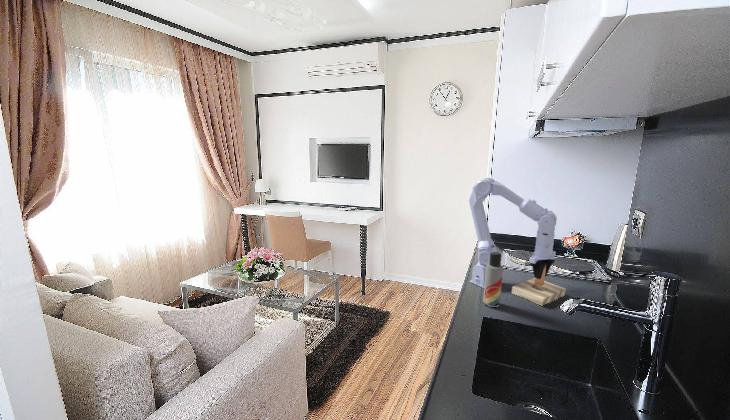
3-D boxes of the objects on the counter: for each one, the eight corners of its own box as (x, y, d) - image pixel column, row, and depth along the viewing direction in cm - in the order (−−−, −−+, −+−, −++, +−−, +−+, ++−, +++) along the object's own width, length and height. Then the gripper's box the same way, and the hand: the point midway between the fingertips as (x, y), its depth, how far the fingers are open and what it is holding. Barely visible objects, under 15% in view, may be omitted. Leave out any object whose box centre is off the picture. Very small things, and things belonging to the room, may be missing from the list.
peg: (540, 286, 119) (542, 266, 117) (532, 283, 122) (534, 263, 120) (545, 284, 121) (548, 265, 119) (537, 281, 123) (540, 262, 122)
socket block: (542, 306, 113) (543, 299, 112) (511, 293, 123) (512, 286, 122) (564, 295, 121) (565, 288, 121) (534, 284, 131) (535, 277, 131)
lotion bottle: (496, 310, 111) (501, 256, 107) (480, 304, 114) (484, 253, 110) (501, 304, 115) (506, 252, 111) (486, 299, 119) (490, 249, 115)
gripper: (544, 249, 111) (540, 285, 113) (565, 243, 118) (560, 276, 121) (525, 244, 116) (521, 278, 119) (546, 238, 124) (542, 270, 127)
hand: (540, 277), depth 121 cm, fingers closed on peg, 3 cm apart
